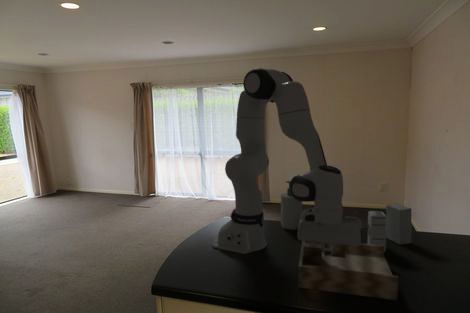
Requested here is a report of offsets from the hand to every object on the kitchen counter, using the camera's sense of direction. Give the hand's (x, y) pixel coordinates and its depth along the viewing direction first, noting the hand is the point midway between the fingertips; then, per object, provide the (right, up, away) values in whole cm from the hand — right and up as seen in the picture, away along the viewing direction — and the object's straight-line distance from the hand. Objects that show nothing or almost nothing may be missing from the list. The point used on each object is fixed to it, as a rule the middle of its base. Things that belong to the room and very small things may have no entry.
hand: (327, 254), depth 102 cm
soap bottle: (-4, -1, +45) cm, 45 cm away
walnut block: (-5, -3, +1) cm, 5 cm away
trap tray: (+5, -7, 0) cm, 8 cm away
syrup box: (+25, -4, +19) cm, 32 cm away
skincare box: (+37, -3, +26) cm, 46 cm away
